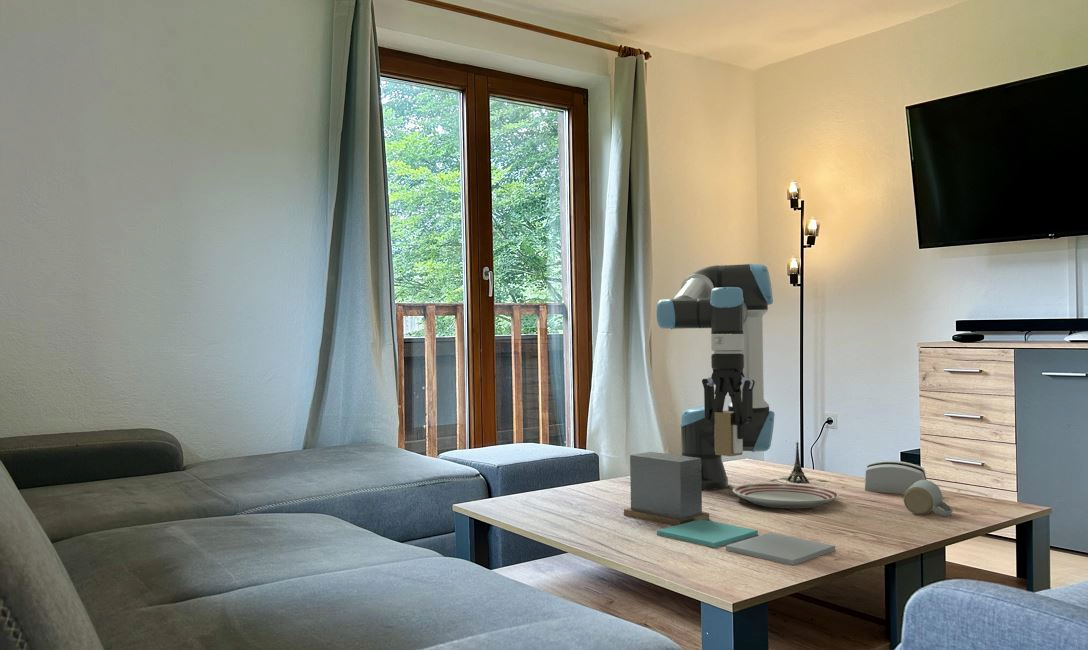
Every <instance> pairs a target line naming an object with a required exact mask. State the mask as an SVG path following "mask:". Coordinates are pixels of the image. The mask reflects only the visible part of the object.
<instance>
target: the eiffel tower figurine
mask: <svg viewBox="0 0 1088 650" xmlns="http://www.w3.org/2000/svg"><path fill="white" fill-rule="evenodd" d="M795 445H796V449H795V462H794V464H793V465H794V466H793V469H792V470H791V471H790V472H791V473H790V475H789V476H788V477H780V478H778V479H776V478H775V479H769V481H770V482H775V481H779V480H783V481H786V482H789V483H790V484H808V483H809V484H810V481H813V479H810V478H808V477H806V475H805V472H804V471H803V469H802V464H801V461H800V451H799V442H798V441H797V442H795ZM815 481H818V482H820V483H828V482H829V480H822V479H820V480H819V479H815Z"/></svg>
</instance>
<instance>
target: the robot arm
mask: <svg viewBox="0 0 1088 650" xmlns="http://www.w3.org/2000/svg"><path fill="white" fill-rule="evenodd" d="M772 288H773V287H772V282H771V276H770V272H769V269H768V267H767V266H766V265H765V264H759V263H758V264H756V263H748V264H745V263H744V264H743V263H742V264H728V265H727V264H726V265H717V264H716V265H712V266H707V267H702V268H701V269H699V270H696V271H694V272H692V273H691V274H689V275H688V276H687V277H686V278H685V279H684V280H683V281H682V283H681V285H680V290H679V292H678V293H677V294H676V295H675V296H674V298H666V299H664V298H663V299H659V300H658V302H657V304H656V322H657V325H658V327H659V328H661V329H666V330H667V329H670V330H675V329H676V330H678V329H711V331H710V332H711V333H710V334H711V336H710V339H711V340H710V344H711V346H710V347H711V351H712V352H713V353H711V357H710V358H711V359H710V360H711V362H710V363H711V369H712V374H711V376H710V377H708V378H702V380H701V383H702V386H703V394H704V398H703V400H704V402H703V403H704V406H697V407H691V408H688V409H685V410H684V411H682V413H681V418H680V419H681V420H680V429H681V432H680V433H681V434H680V435H681V438H680V439H681V456H688V457H695V458H701V478H702V491H705V490H709V491H710V490H719V489H720V490H721V489H726V488H727V487H728V486H729V478H728V476H727V472H726V469H725V466H724V463H723V455H715V412H721V411H724V406H725V401H726V396H727V395H728V396H729V397H730V402H729V403H728V404H727V405H728V406H727V407H728V408H727V411H733V412H734V416H735V421H736V423H734V424H735V425H733V453H742V454H743V452H752V453H755V452H767V451H768V450H770V449H771V445H772V439H773V432H774V425H775V411H773V410H770V404H769V403H768V402H767V401H766V400H765V397H764V394H765V393H764V387H765V386H764V385H765V384H764V338H763V337H764V336H763V333H764V332H763V331H764V330H763V326H764V325H763V324H764V323H763V317H764V315H766V314H767V312H768V310H769V306H768V305H770V306H771V305H772V304H773V303H774V299H773V289H772Z"/></svg>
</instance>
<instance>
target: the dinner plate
mask: <svg viewBox="0 0 1088 650" xmlns="http://www.w3.org/2000/svg"><path fill="white" fill-rule="evenodd" d="M732 492H733V493H734V495H737V496H738V497H739V498H741V499H743V500H746V501H748V502H751V503H752V504H754V505H758V506H762V507H767V508H773V509H775V508H778V509H810V508H816V507H819V506H821V505H823V504H826V503H830V502H832V501H833V500H836V499H837V498H839V497H840V493H839V492H837V491H836V490H833V489H829V488H826V487H820V486H813V485H807V484H798V483H773V482H772V483H750V484H743V485H738V486H735V487H733V488H732Z"/></svg>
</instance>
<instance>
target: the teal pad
mask: <svg viewBox="0 0 1088 650" xmlns="http://www.w3.org/2000/svg"><path fill="white" fill-rule="evenodd" d="M656 535H657V536H662V537H666V538H669V539H675V540H679V541H683V542H686V543H687V542H688V543H693V544H697V545H701V546H706V547H711V548H718V547H721V546H726V545H729V544H732V543H736V542H739V541H743V540H746V539H749V538H753V537H756V536H759V530H758V529H752V528H747V527H743V526H737V525H734V524H733V525H731V524H728V523H724V522H723V523H722V522H718V521H712V520H703V519H699V520H695V521H692V522H688V523H684V524H680V525H676V526H673V525H671V526H668V527H665V528H661V529H657V530H656Z"/></svg>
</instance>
